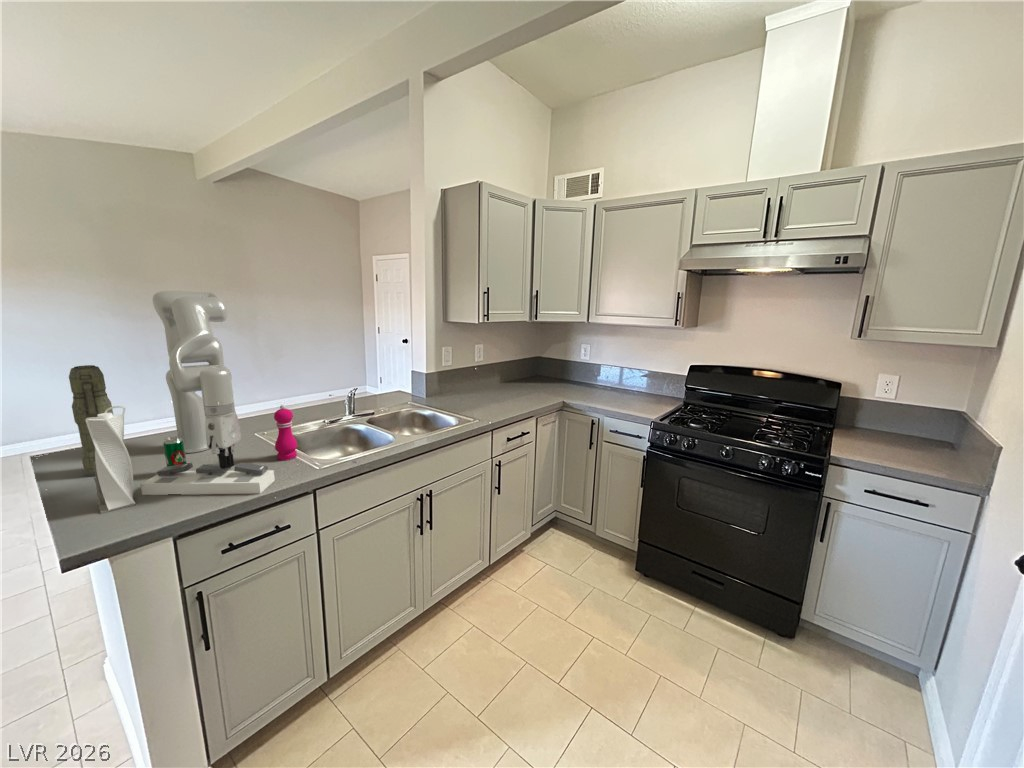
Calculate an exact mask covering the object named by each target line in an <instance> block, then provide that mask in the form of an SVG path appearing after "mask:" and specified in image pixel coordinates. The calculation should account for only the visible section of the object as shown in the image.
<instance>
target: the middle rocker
mask: <svg viewBox="0 0 1024 768" xmlns="http://www.w3.org/2000/svg"><path fill="white" fill-rule="evenodd" d="M231 469H232V467H231V468H220V464H219V463H217V464H215V463H214V464H210V463H209V464H202V465H200V466H199V467H197V468H195V471H196V474H204V473H208V474H209V475H212V474H213V473H225V472H227V471H231Z"/></svg>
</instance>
